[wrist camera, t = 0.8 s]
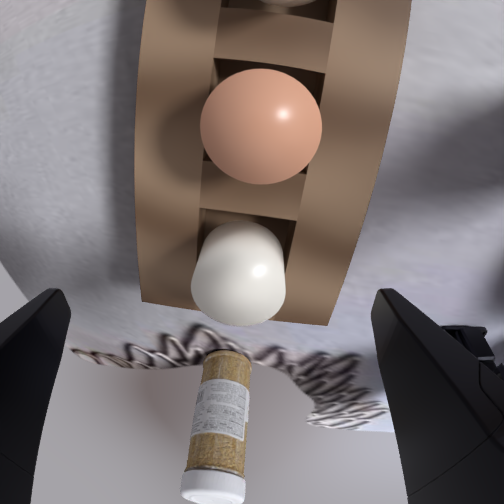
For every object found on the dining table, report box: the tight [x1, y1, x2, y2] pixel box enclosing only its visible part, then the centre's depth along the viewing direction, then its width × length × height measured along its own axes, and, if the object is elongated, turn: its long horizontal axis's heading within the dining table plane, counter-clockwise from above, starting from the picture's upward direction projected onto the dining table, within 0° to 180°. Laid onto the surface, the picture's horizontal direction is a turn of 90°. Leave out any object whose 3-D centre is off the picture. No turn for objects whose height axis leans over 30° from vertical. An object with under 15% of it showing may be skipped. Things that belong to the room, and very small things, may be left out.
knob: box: [191, 221, 286, 326], centre depth 16 cm, size 4×4×3 cm
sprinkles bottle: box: [180, 350, 252, 504], centre depth 23 cm, size 5×5×13 cm
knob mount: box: [134, 0, 412, 326], centre depth 15 cm, size 24×12×4 cm, turn 172°
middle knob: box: [200, 69, 322, 185], centre depth 12 cm, size 4×4×3 cm
